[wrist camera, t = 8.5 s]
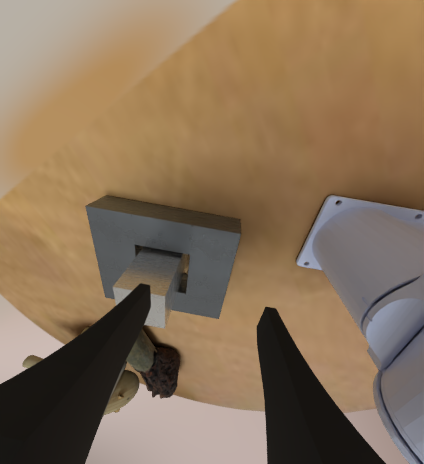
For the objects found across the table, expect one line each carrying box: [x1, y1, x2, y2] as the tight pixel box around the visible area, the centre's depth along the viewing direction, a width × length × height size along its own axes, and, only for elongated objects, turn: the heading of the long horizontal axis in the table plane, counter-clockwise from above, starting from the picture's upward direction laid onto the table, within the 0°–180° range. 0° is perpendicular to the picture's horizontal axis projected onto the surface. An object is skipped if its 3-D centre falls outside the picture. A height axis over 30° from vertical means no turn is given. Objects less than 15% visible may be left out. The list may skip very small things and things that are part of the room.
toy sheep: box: [23, 327, 139, 417], centre depth 28 cm, size 11×17×11 cm, turn 71°
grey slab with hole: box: [86, 195, 241, 319], centre depth 20 cm, size 14×12×3 cm
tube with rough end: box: [126, 329, 180, 398], centre depth 30 cm, size 18×7×6 cm, turn 20°
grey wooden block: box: [113, 246, 187, 328], centre depth 18 cm, size 4×4×8 cm
